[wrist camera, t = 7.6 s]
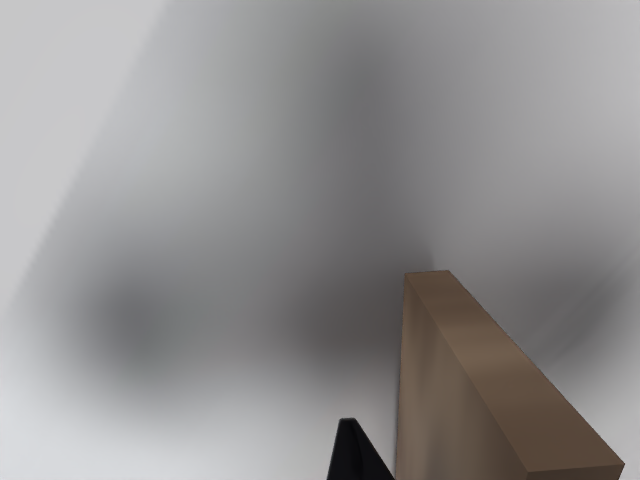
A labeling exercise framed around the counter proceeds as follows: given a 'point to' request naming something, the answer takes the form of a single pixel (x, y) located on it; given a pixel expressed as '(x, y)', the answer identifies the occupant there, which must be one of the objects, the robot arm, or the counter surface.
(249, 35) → the counter surface
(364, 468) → the robot arm
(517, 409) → the gate leaf
